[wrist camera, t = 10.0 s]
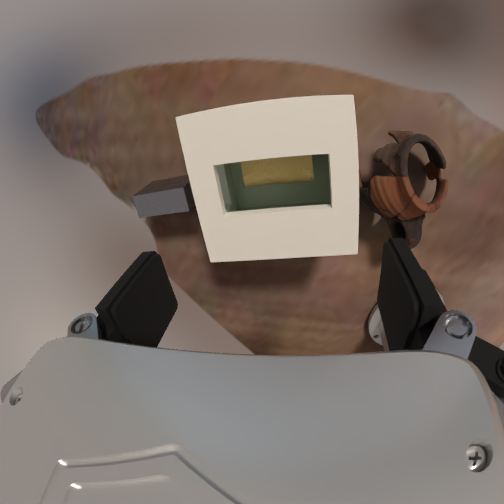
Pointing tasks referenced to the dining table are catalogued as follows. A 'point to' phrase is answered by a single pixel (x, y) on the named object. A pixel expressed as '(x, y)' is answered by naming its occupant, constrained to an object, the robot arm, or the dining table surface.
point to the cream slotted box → (275, 195)
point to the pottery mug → (404, 187)
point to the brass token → (277, 170)
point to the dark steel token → (165, 197)
